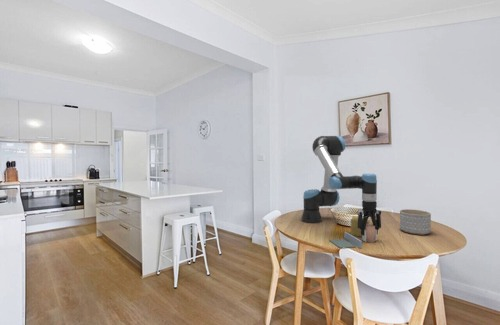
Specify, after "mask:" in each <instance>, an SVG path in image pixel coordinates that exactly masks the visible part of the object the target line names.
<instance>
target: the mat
mask: <svg viewBox="0 0 500 325" xmlns="http://www.w3.org/2000/svg"><path fill="white" fill-rule="evenodd" d="M329 242H330V243H331V244H333V245H335V247H337V248H338V249H340V248H341V249H344V248H343V247H347V248H346V249H351V248H356V247H357V246H355V245H354V244H352V243H351V242H349V241H347V240H346V239H344V238H335V239H329Z"/></svg>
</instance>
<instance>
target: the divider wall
mask: <svg viewBox="0 0 500 325" xmlns="http://www.w3.org/2000/svg"><path fill="white" fill-rule="evenodd" d="M343 235H344V238H343V239H345V240H346V241H347V240H348V242H350V243H351V244H353V245H354V246H356V247H357V248H359V249H363V240H362V239H359V238H357V236H355V235H351V233H349V232H346V231H344V234H343Z"/></svg>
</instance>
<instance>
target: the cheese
mask: <svg viewBox="0 0 500 325" xmlns="http://www.w3.org/2000/svg"><path fill="white" fill-rule="evenodd" d="M362 220H363V219H362ZM366 224H370V220H369V218H368V220H367V223H366ZM350 234H351V235H352V236H354V237H362V235H361V229H359V228H358V216H357V215H352V218H351V219H350Z"/></svg>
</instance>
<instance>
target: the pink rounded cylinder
mask: <svg viewBox="0 0 500 325" xmlns="http://www.w3.org/2000/svg"><path fill="white" fill-rule="evenodd" d="M365 230H366V243H375V242H376V241H375V225H373V223H369V224H366V227H365Z"/></svg>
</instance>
